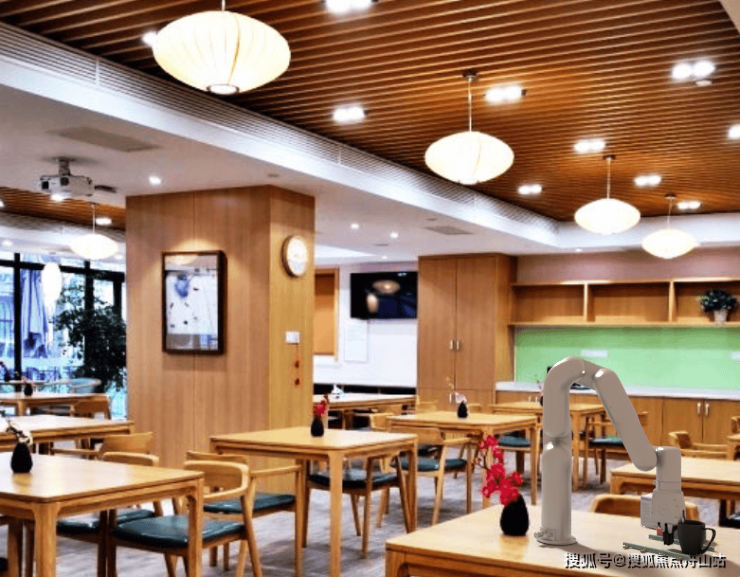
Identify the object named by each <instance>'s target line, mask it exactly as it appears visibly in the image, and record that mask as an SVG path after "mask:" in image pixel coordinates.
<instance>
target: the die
mask: <svg viewBox="0 0 740 577" xmlns="http://www.w3.org/2000/svg"><path fill="white" fill-rule="evenodd" d="M656 535H657V536H662V537H663V532H662V531H661V528H660V527H658V528H657V529H656Z"/></svg>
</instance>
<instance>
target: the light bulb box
mask: <svg viewBox="0 0 740 577" xmlns="http://www.w3.org/2000/svg"><path fill="white" fill-rule="evenodd" d="M652 494H653V492H650V493H647V494H644V495H640V526H641V525H642V526H645V527H644V528H647V527H650V528H649V529H652V528H654V529H653V530H657V528H658V527H659V526H658V525H657V524H654V523H653V522H652V519H651V517H650V510H651V500H652ZM642 526H641V527H642ZM668 526H669V524H668Z"/></svg>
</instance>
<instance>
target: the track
mask: <svg viewBox="0 0 740 577" xmlns="http://www.w3.org/2000/svg"><path fill="white" fill-rule="evenodd" d="M650 538H652V539H651V540H655V539H656V540H655V541H659V540H660V542H664V541H663V537H662V536H657V534H652V533H649V534H648V539H650ZM623 545H625V546H623ZM673 545H679V546H680V544H679V540H677V539H674V543H673ZM707 545H708V544H707ZM707 545H706V544H704V545H703V548H702V549H705V548H706V546H707ZM627 547H632V548H631V549H633V548H637V549H636V550H638V549H641V550H639V552H643V553H645V552H644V551H646V552H647V551H650V552H649V553H652V552H654V553H653V554H657V553H660V554H657V556H658V555H664V554H665V555H664V556H666V555H668V557H670V556H672V557H671V558H675V557H676V561H677V562H679V561H682V560H684V561H690V560H691V555H685V554H683V553H678V552H673V551H669V550H664V549H661V548H660V549H659V548H655V547H650V546H644V545H641V544H636V543H632V542H627V541H623V542H622V549H623V548H627ZM627 549H628V548H627ZM708 551H710V552H715V547H714V546H711V545H710V547H709V548H708V550H707V552H708Z"/></svg>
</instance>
